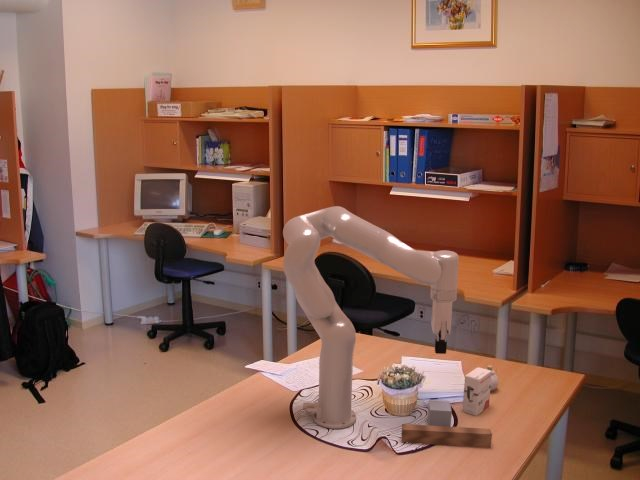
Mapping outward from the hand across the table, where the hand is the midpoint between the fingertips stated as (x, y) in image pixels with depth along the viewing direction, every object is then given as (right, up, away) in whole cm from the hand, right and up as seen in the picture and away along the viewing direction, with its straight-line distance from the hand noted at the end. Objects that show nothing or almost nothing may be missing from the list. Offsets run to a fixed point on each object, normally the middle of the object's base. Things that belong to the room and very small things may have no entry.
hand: (440, 352), depth 213 cm
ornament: (+18, -15, +17) cm, 29 cm away
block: (-1, -20, -5) cm, 21 cm away
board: (-1, -22, -15) cm, 27 cm away
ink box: (+11, -18, +5) cm, 22 cm away
